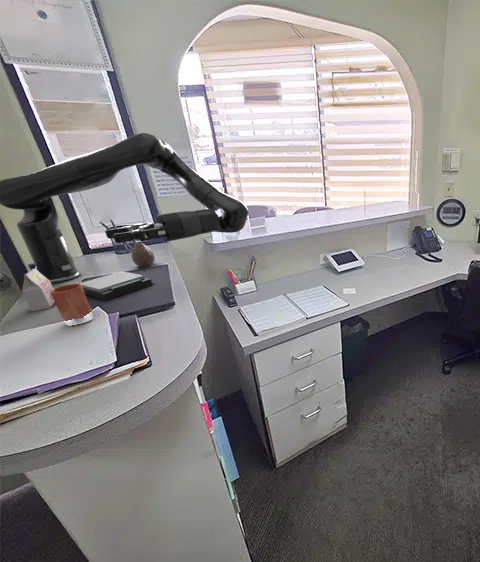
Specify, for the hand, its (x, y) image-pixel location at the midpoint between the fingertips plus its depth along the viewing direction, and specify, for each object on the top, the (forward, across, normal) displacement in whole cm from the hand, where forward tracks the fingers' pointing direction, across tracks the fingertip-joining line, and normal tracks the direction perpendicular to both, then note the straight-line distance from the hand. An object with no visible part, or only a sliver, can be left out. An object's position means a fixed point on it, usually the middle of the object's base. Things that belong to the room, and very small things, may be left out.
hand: (110, 236), depth 78 cm
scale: (0, -20, +19) cm, 27 cm away
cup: (+11, 0, +19) cm, 22 cm away
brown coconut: (-13, -40, +19) cm, 46 cm away
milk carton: (+16, -22, +19) cm, 33 cm away
